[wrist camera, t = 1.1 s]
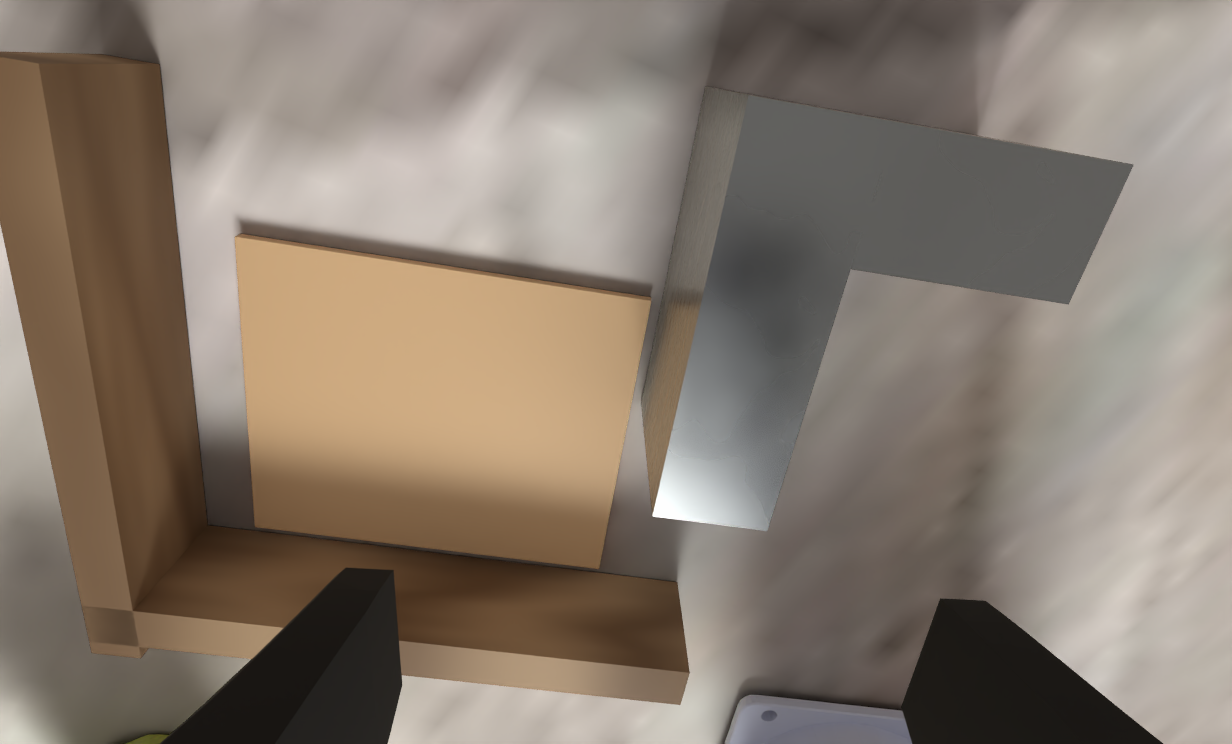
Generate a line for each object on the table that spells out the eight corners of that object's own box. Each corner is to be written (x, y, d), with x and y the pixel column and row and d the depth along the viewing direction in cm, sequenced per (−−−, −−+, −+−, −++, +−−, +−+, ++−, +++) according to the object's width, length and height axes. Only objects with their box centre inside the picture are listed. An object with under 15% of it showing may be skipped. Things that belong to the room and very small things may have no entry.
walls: (783, 171, 16) (827, 197, 13) (666, 621, 21) (677, 714, 18) (101, 54, 14) (-37, 50, 11) (170, 563, 20) (91, 653, 17)
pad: (650, 297, 17) (651, 300, 17) (599, 562, 20) (598, 568, 20) (240, 233, 16) (234, 236, 16) (259, 520, 20) (254, 526, 19)
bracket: (705, 86, 15) (748, 94, 10) (978, 135, 15) (1133, 165, 11) (641, 403, 18) (652, 516, 14) (867, 435, 19) (951, 554, 14)
